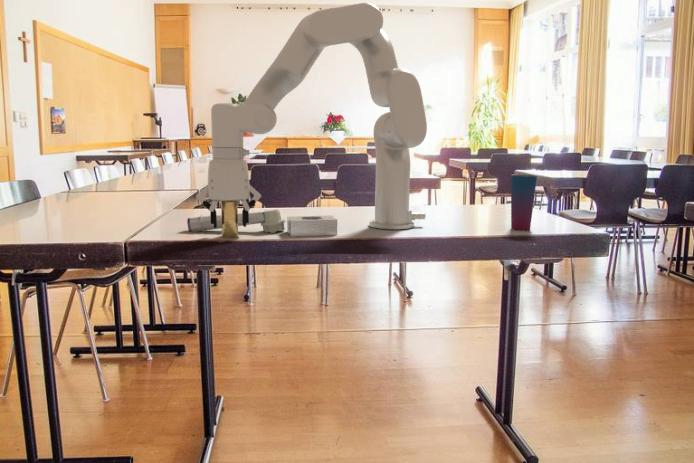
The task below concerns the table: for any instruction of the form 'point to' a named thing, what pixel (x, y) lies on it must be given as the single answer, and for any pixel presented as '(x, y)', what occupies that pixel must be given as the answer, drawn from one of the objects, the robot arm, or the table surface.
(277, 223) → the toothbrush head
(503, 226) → the table surface
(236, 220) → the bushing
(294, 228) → the block
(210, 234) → the table surface
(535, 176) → the cup
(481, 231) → the table surface
